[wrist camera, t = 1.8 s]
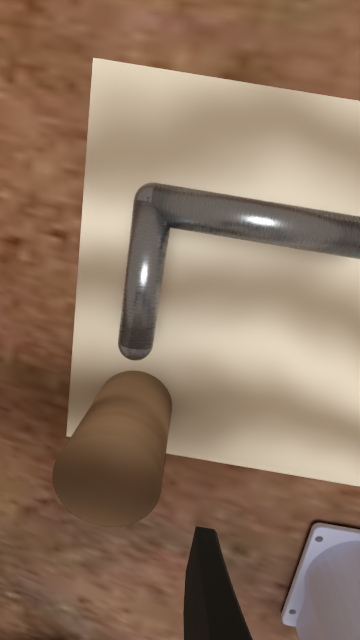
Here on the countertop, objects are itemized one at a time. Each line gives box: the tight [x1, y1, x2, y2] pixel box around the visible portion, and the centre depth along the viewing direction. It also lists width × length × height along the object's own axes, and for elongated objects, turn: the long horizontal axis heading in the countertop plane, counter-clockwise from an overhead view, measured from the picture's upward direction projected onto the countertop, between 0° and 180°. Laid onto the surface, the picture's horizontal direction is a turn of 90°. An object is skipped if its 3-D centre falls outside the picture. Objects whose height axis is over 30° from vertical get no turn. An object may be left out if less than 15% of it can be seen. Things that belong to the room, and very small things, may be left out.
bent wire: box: [118, 182, 360, 361], centre depth 14 cm, size 8×11×4 cm
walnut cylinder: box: [53, 371, 172, 527], centre depth 15 cm, size 4×4×6 cm
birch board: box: [66, 58, 360, 486], centre depth 16 cm, size 20×26×1 cm
